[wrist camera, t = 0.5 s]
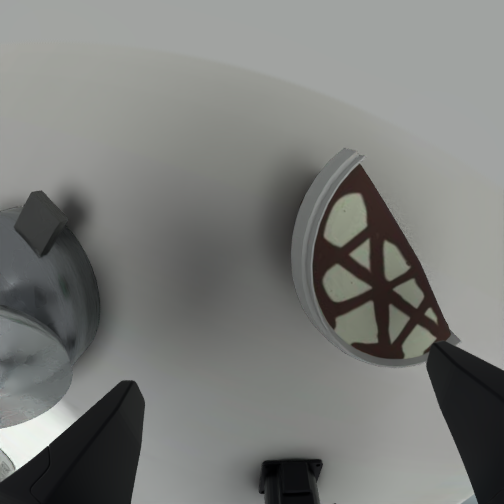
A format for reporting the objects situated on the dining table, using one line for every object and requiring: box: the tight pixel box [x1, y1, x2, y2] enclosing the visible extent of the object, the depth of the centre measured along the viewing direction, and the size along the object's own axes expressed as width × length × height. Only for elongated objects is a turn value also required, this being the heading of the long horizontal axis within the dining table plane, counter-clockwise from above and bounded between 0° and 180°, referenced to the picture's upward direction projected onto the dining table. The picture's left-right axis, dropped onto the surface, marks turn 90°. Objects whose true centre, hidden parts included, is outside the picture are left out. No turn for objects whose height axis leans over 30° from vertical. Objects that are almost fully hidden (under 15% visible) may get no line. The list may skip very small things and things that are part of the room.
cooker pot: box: [0, 191, 100, 366], centre depth 21 cm, size 15×21×6 cm
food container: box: [291, 148, 461, 368], centre depth 18 cm, size 12×6×10 cm, turn 37°
